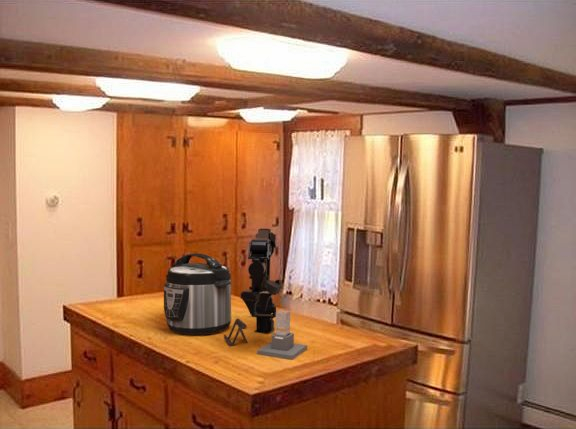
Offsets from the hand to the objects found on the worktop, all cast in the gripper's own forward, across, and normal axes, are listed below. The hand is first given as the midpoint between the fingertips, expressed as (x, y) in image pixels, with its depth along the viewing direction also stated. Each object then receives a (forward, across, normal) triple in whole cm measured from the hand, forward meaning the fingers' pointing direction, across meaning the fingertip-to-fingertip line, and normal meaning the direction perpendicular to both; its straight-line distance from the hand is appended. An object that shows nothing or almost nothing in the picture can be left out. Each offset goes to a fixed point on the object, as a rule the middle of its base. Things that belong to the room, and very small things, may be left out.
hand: (258, 314), depth 220 cm
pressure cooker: (+13, +13, +35) cm, 40 cm away
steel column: (+8, 0, -10) cm, 12 cm away
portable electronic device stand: (+13, +3, +11) cm, 18 cm away
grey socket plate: (+13, 0, -10) cm, 16 cm away
